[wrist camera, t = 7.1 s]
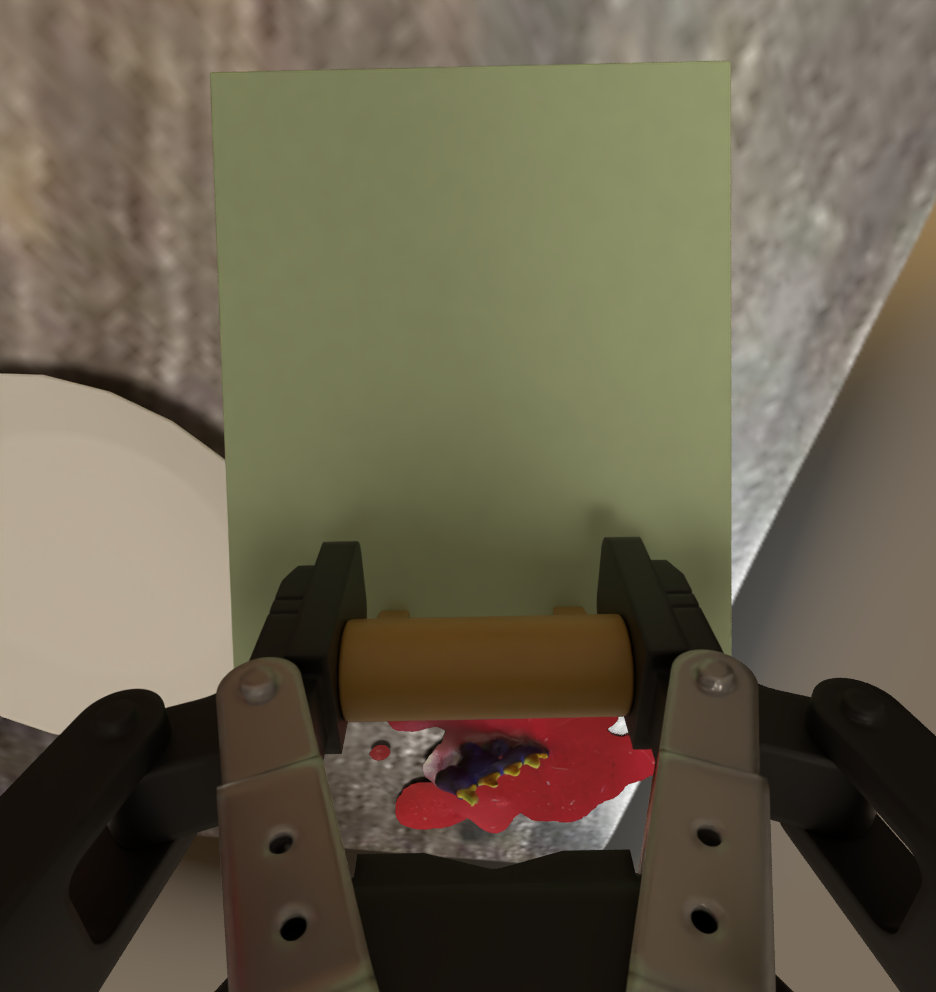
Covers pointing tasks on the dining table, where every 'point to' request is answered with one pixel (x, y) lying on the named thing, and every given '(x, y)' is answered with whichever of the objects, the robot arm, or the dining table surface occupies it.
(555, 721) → the red splat with dinosaur
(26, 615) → the plate
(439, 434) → the lid
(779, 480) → the dining table surface
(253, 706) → the robot arm
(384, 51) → the dining table surface
